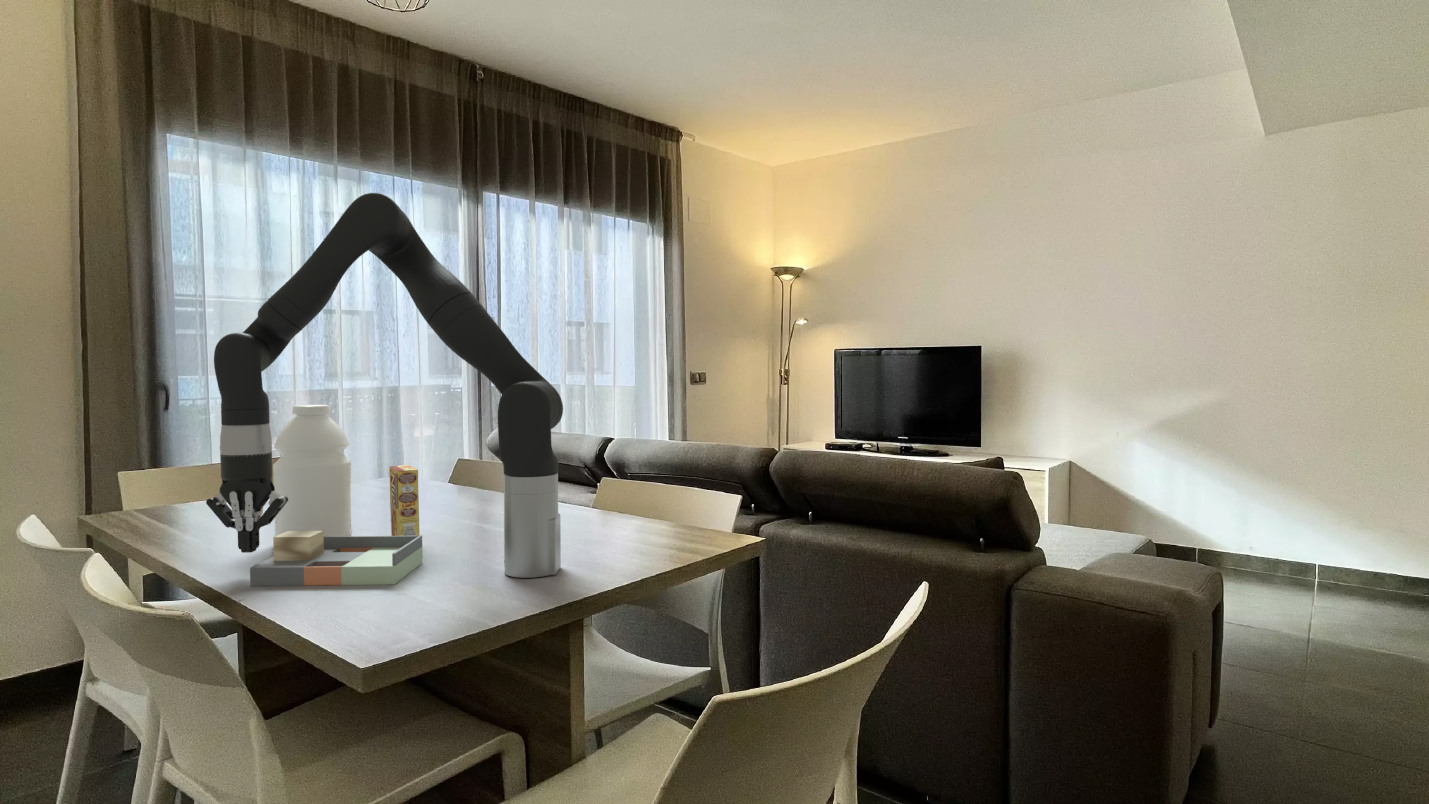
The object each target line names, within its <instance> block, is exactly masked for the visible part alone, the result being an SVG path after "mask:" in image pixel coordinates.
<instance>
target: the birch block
mask: <svg viewBox="0 0 1429 804" xmlns="http://www.w3.org/2000/svg"><path fill="white" fill-rule="evenodd" d="M274 536H275V535H274ZM274 536H273V537H272V538H273V539H272V540H273V541H272V542H273V544H272V545H273V557H274V561H299V560H312V559H314V558H316V557H318V556H320V555H322V554H323V553H324V533H323V531H287V532H285V533H282V534H280V535H277V536H275V537H274Z"/></svg>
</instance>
